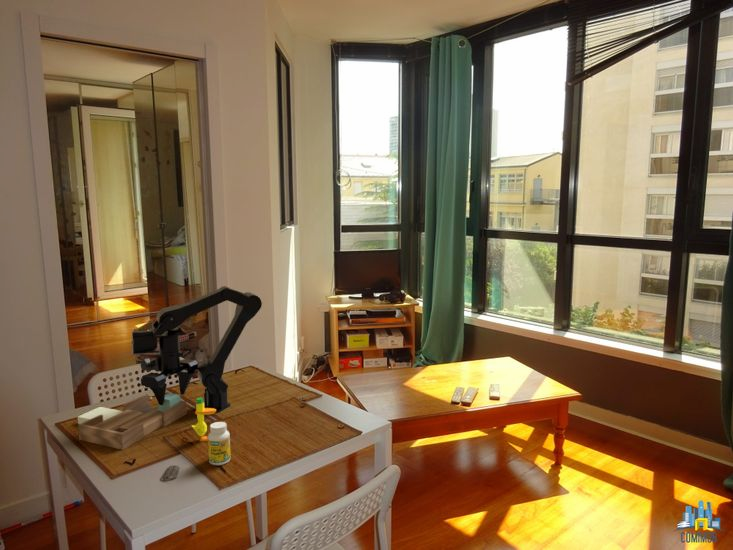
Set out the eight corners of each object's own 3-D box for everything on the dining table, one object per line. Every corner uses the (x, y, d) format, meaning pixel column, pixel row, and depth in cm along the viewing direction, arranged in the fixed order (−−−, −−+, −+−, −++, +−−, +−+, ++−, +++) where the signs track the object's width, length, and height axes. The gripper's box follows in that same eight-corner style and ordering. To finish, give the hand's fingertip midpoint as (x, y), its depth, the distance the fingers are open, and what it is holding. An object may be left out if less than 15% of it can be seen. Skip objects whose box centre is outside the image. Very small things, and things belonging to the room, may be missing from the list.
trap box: (186, 414, 160) (186, 400, 160) (122, 449, 137) (121, 434, 137) (147, 406, 166) (146, 393, 165) (79, 439, 143) (78, 424, 142)
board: (125, 418, 157) (125, 411, 156) (103, 429, 149) (103, 422, 149) (100, 413, 160) (100, 406, 160) (78, 423, 153) (77, 416, 153)
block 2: (180, 472, 129) (180, 465, 128) (175, 483, 123) (175, 476, 123) (164, 471, 128) (165, 464, 128) (159, 483, 122) (159, 475, 122)
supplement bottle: (230, 454, 135) (229, 419, 134) (230, 464, 130) (229, 428, 129) (209, 456, 134) (208, 421, 133) (207, 467, 129) (206, 430, 127)
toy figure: (217, 436, 146) (216, 395, 144) (216, 442, 142) (214, 400, 140) (192, 437, 145) (191, 396, 143) (190, 443, 141) (188, 401, 139)
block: (180, 407, 159) (180, 394, 159) (170, 412, 155) (169, 400, 154) (168, 405, 161) (168, 392, 160) (158, 410, 157) (157, 397, 156)
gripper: (170, 339, 168) (172, 386, 170) (124, 355, 151) (127, 407, 153) (198, 343, 164) (200, 390, 166) (154, 360, 147) (157, 412, 149)
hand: (172, 399), depth 159 cm, fingers open, 9 cm apart
